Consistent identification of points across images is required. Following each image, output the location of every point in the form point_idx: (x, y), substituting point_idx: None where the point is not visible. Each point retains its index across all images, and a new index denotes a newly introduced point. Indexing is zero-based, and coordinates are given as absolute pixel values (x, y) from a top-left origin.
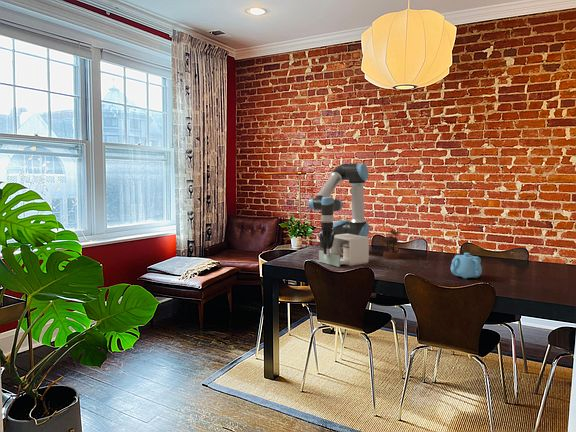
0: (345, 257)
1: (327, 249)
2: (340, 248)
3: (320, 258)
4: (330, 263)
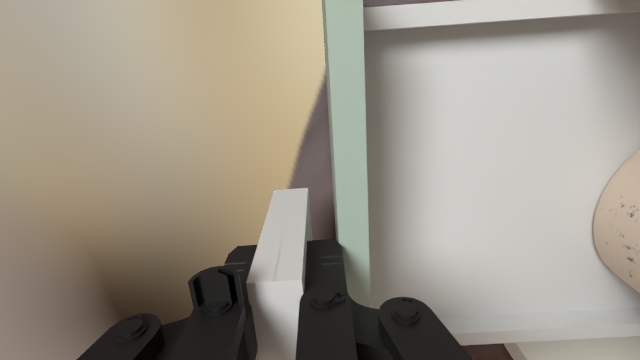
0: (611, 239)
1: (271, 356)
2: None
3: (323, 16)
4: (335, 225)
